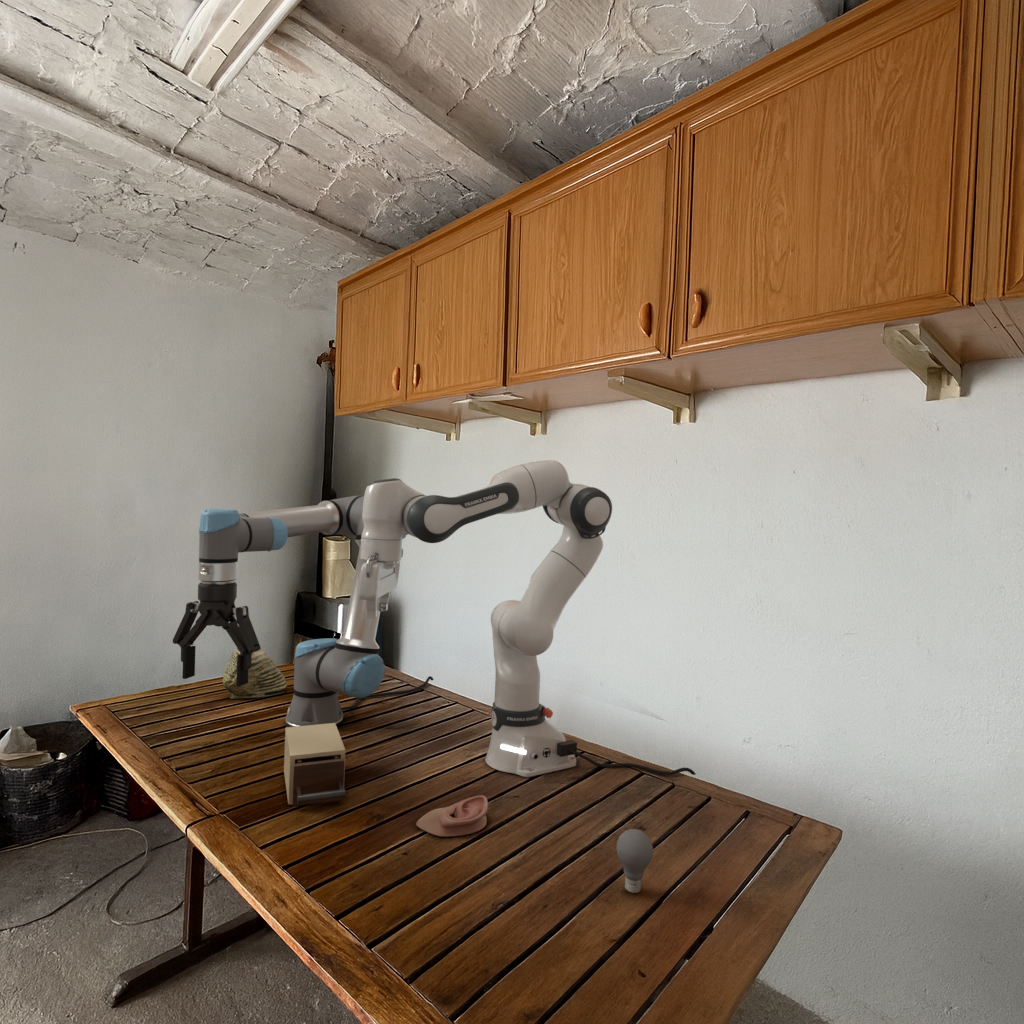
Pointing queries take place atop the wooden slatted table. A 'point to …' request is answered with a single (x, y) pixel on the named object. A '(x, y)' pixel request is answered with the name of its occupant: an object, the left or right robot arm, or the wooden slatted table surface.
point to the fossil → (254, 677)
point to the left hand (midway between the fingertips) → (215, 681)
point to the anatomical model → (456, 818)
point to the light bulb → (634, 857)
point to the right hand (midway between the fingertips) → (377, 614)
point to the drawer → (318, 780)
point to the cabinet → (309, 747)
